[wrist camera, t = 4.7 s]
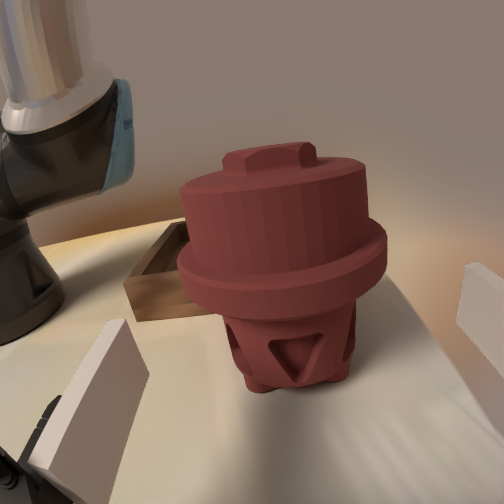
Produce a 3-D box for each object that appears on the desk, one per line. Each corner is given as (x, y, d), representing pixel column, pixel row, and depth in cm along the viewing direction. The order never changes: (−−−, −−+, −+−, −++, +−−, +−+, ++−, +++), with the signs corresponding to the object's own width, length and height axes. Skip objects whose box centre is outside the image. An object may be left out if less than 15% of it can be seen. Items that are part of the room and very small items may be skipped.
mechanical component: (204, 437, 13) (220, 327, 22) (402, 408, 12) (353, 308, 22) (114, 182, 9) (183, 158, 18) (428, 140, 8) (343, 136, 17)
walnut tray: (136, 321, 25) (123, 283, 23) (177, 248, 41) (171, 223, 40) (348, 292, 24) (347, 250, 23) (308, 228, 41) (305, 201, 39)
